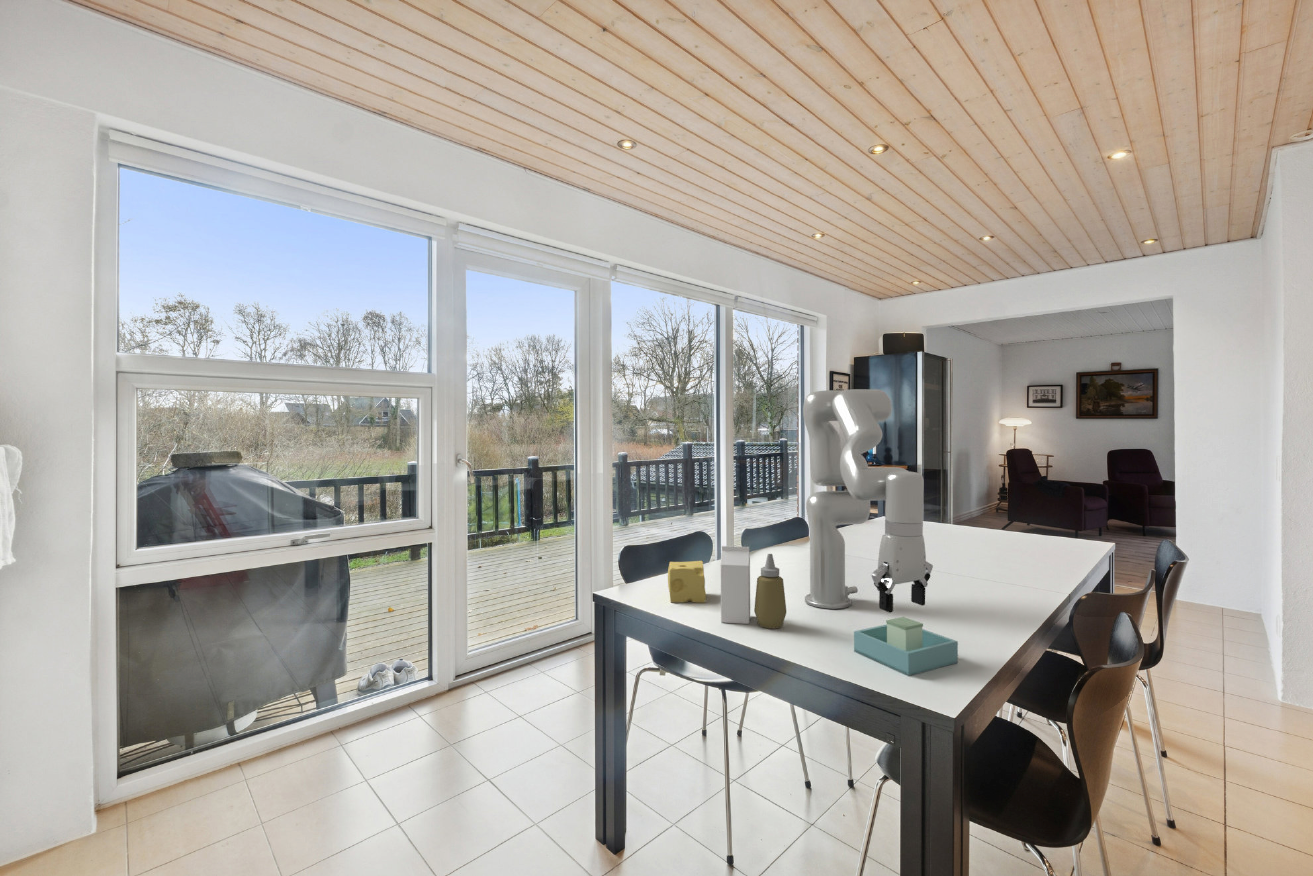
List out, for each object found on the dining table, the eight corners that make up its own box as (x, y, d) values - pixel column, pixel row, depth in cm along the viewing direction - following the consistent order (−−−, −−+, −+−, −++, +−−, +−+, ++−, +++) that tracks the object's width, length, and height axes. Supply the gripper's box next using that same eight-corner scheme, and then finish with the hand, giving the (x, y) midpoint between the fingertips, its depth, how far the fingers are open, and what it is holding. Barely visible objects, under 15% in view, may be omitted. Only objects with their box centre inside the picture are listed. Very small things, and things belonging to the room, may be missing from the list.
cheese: (706, 603, 168) (705, 568, 168) (668, 603, 168) (667, 568, 168) (703, 593, 178) (703, 560, 178) (667, 593, 178) (667, 560, 178)
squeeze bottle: (752, 620, 153) (751, 550, 152) (783, 620, 152) (783, 550, 152) (756, 630, 144) (756, 557, 144) (789, 630, 144) (789, 557, 144)
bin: (901, 640, 137) (901, 621, 137) (957, 662, 124) (957, 641, 124) (854, 651, 131) (854, 631, 130) (908, 676, 117) (908, 653, 117)
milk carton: (749, 624, 149) (748, 549, 149) (721, 623, 151) (720, 548, 150) (750, 615, 156) (749, 544, 156) (723, 614, 158) (722, 543, 157)
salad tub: (903, 648, 131) (903, 616, 131) (923, 656, 126) (923, 623, 126) (886, 652, 128) (886, 620, 128) (905, 660, 124) (905, 627, 124)
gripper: (917, 522, 134) (915, 596, 135) (860, 529, 127) (859, 608, 127) (946, 528, 127) (944, 606, 128) (888, 536, 120) (887, 619, 121)
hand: (902, 607), depth 128 cm, fingers open, 9 cm apart
